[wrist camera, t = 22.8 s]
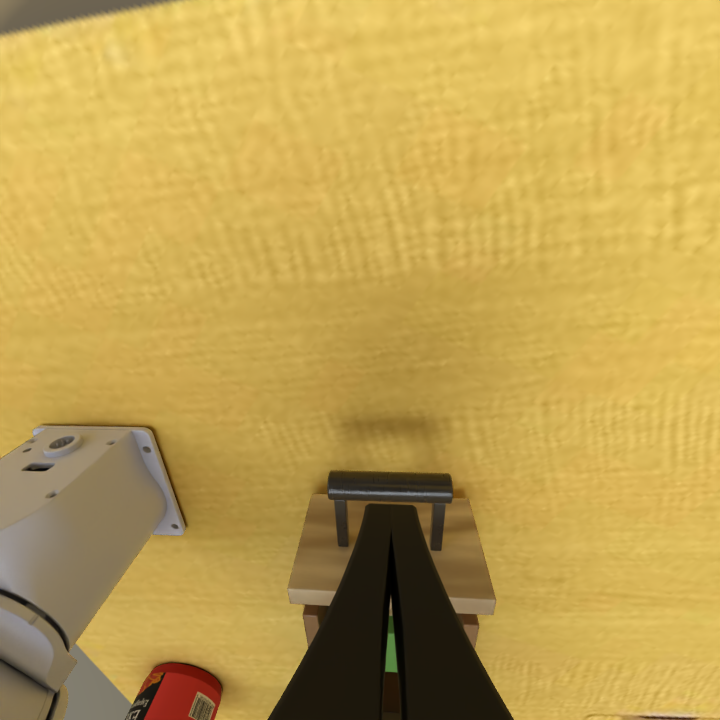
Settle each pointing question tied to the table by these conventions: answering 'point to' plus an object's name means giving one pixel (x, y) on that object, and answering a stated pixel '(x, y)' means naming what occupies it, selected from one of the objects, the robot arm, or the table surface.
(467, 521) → the drawer
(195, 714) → the canned food
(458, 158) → the table surface
